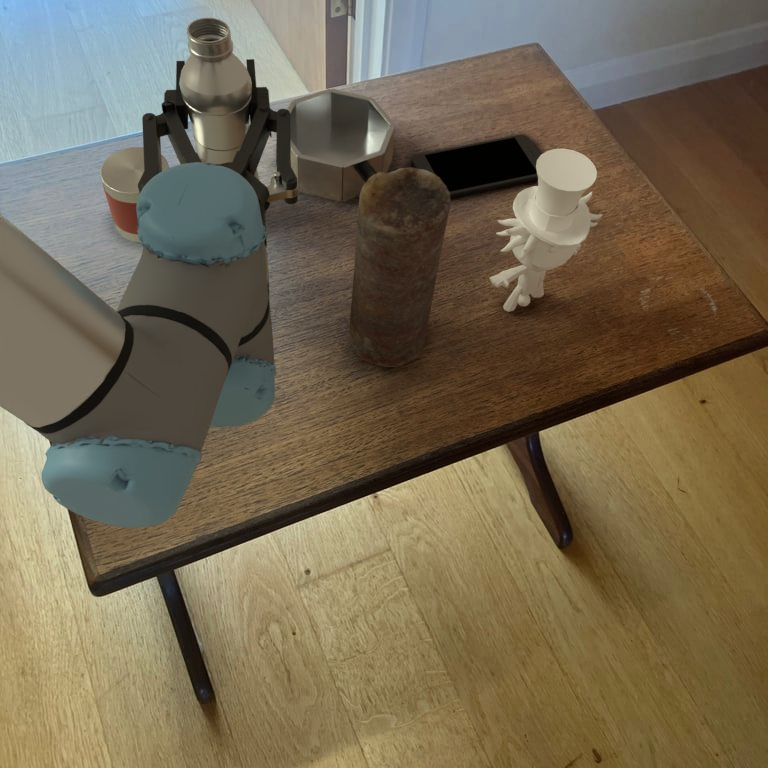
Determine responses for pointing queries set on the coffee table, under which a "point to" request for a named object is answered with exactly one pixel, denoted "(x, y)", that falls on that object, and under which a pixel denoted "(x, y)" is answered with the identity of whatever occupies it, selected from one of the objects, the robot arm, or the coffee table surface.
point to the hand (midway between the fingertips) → (217, 72)
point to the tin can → (125, 188)
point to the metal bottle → (215, 92)
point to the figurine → (547, 222)
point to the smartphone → (482, 164)
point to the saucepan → (338, 143)
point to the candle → (396, 263)
